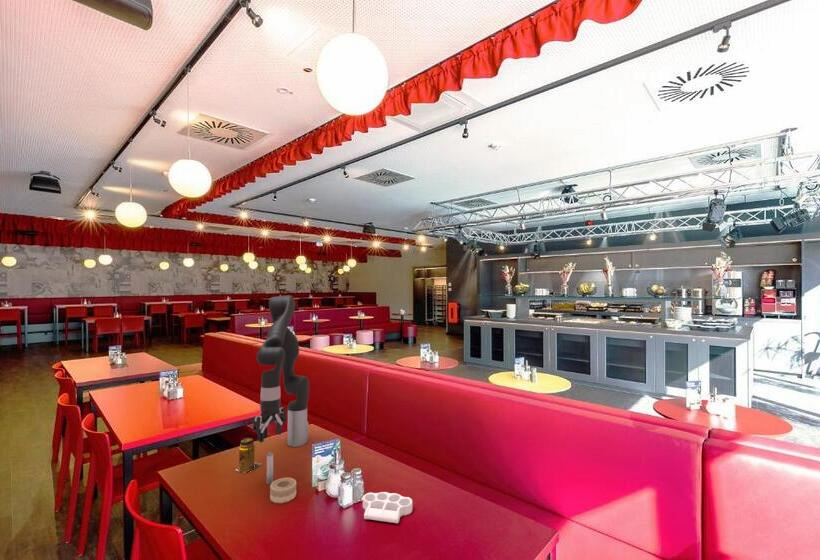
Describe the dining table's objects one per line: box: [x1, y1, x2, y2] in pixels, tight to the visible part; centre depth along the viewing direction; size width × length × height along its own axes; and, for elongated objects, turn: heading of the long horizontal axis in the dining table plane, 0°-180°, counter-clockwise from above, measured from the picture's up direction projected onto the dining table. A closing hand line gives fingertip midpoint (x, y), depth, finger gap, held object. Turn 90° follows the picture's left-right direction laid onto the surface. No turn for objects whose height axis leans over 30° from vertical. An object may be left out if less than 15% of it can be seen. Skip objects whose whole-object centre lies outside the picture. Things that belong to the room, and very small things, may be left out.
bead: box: [269, 477, 297, 504], centre depth 140 cm, size 9×9×4 cm
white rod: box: [266, 451, 274, 485], centre depth 149 cm, size 2×2×12 cm
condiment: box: [234, 437, 263, 472], centre depth 161 cm, size 7×8×12 cm
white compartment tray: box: [362, 491, 413, 524], centre depth 132 cm, size 3×18×15 cm
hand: (269, 437), depth 149 cm, fingers open, 8 cm apart
